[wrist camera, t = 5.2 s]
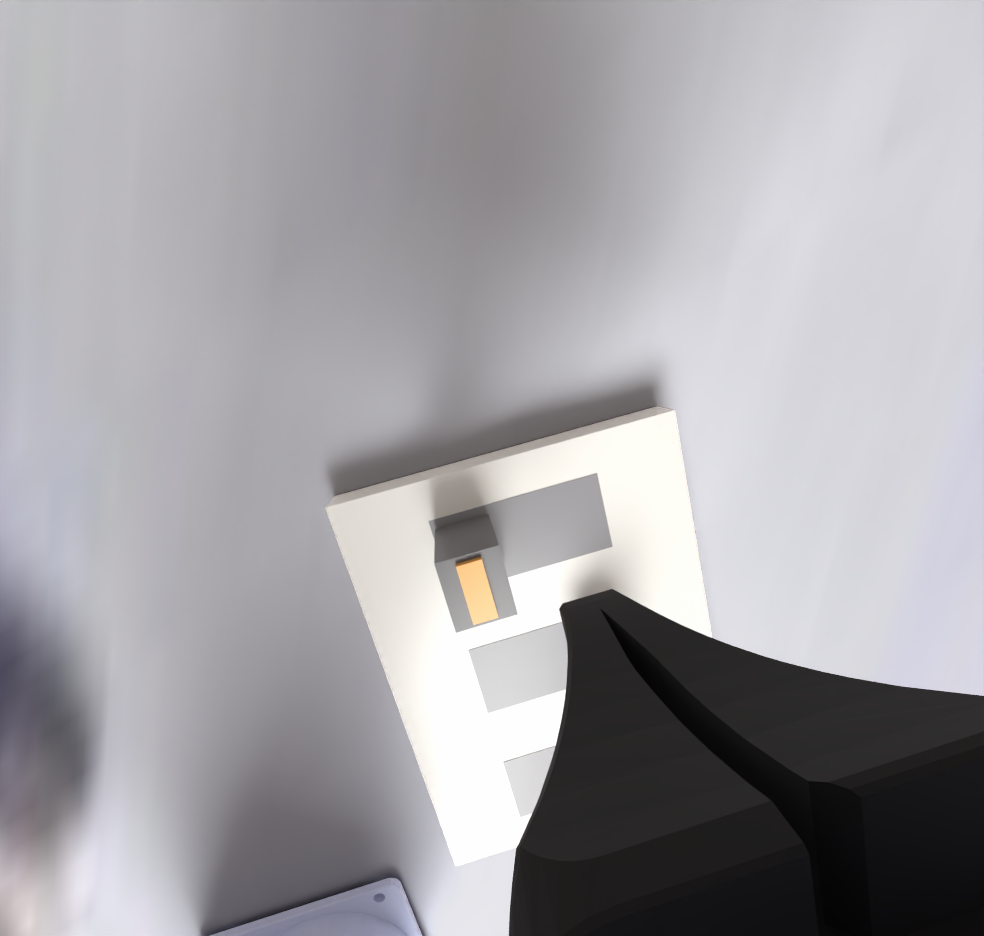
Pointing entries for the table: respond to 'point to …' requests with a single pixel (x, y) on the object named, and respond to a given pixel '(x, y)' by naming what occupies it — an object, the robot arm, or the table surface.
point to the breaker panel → (515, 600)
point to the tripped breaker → (472, 573)
